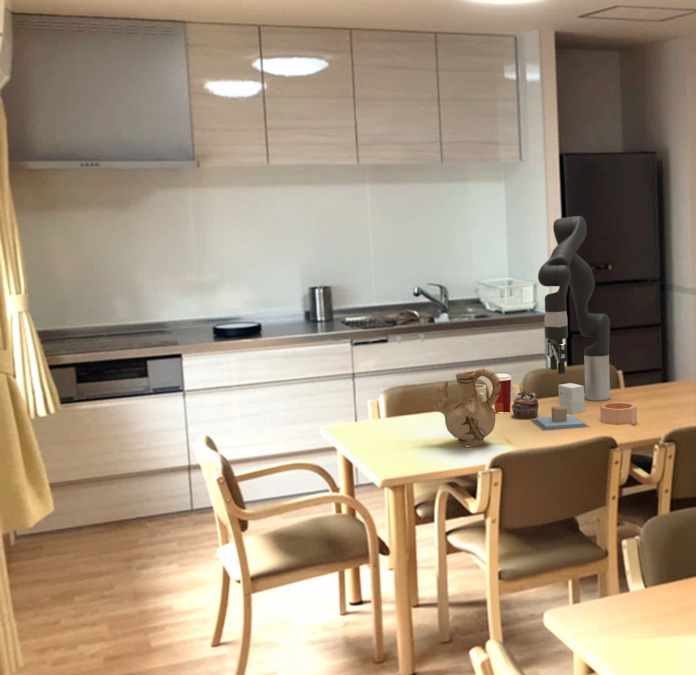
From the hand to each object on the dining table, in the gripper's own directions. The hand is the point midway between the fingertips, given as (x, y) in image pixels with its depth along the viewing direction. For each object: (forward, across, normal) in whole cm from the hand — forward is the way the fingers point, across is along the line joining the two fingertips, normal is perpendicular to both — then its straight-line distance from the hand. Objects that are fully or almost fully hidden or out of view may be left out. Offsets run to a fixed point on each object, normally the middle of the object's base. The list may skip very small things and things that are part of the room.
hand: (557, 371), depth 291 cm
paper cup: (+19, -28, -13) cm, 36 cm away
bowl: (+19, +2, +20) cm, 28 cm away
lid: (+18, 0, 0) cm, 18 cm away
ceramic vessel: (+19, +13, -34) cm, 41 cm away
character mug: (+19, -16, -25) cm, 35 cm away
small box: (+19, -17, +10) cm, 28 cm away
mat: (+19, 0, 0) cm, 19 cm away
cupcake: (+19, -14, -8) cm, 25 cm away
